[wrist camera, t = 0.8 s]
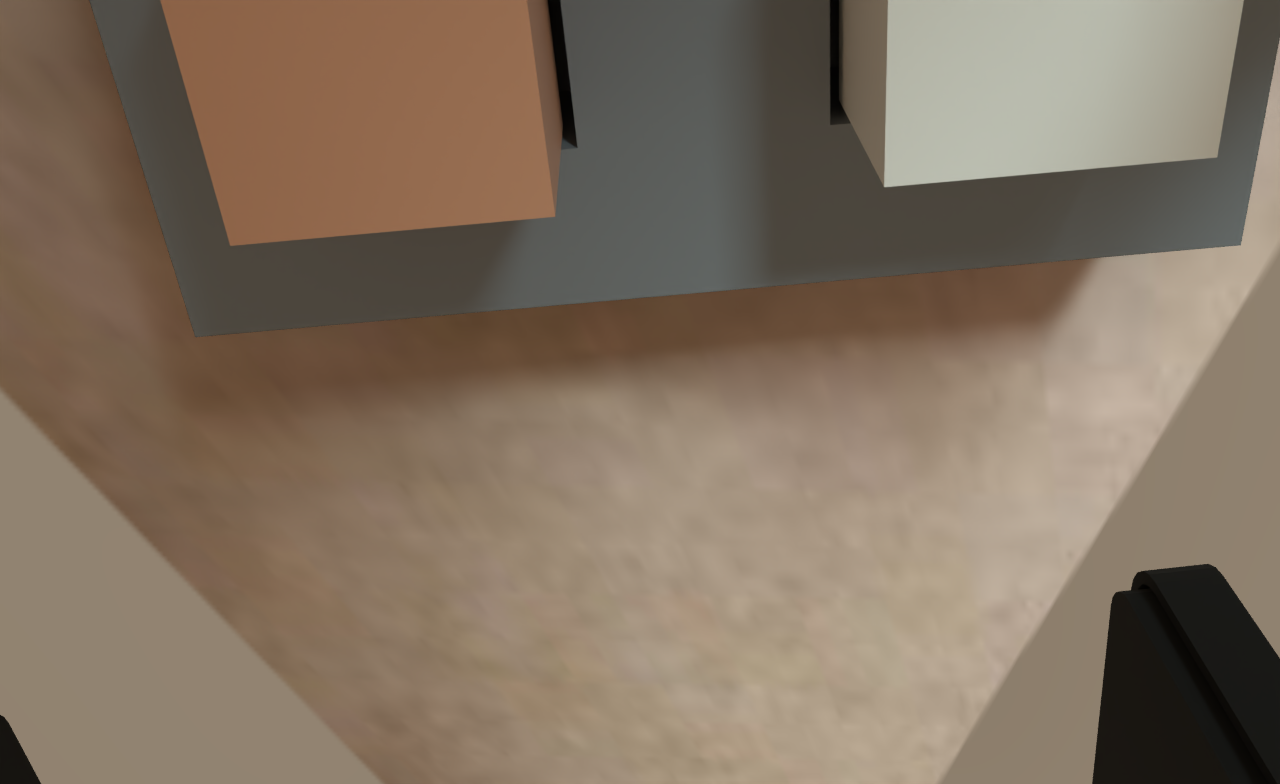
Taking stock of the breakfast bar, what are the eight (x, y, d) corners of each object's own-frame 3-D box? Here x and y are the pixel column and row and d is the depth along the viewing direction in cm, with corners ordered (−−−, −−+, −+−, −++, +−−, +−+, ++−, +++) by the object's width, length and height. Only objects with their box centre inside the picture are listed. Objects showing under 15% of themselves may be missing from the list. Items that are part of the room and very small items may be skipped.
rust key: (216, -147, 24) (131, -100, 19) (526, -177, 23) (508, -137, 19) (289, 149, 27) (229, 246, 22) (563, 124, 27) (555, 216, 22)
